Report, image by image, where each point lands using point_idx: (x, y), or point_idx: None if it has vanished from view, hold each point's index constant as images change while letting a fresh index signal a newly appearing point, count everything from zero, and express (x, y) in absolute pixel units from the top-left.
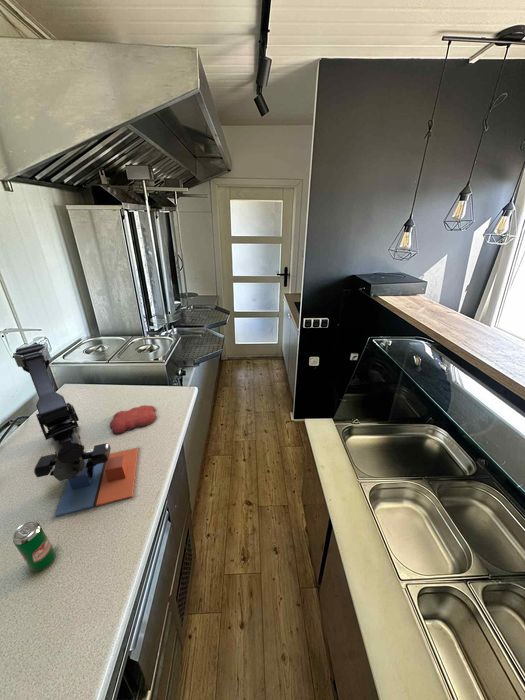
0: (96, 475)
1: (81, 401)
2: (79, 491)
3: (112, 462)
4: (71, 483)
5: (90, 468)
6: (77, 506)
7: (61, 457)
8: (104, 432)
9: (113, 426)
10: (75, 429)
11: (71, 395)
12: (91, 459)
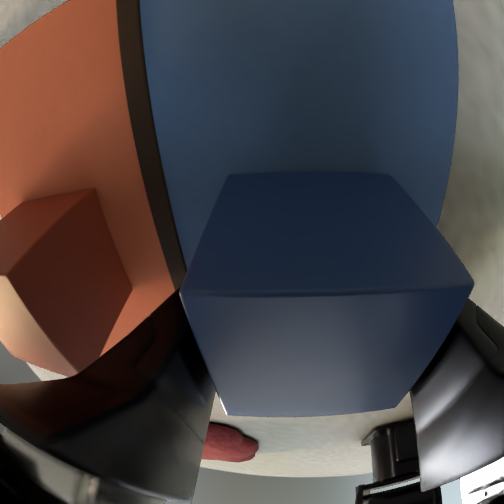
0: None
1: (350, 465)
2: (324, 136)
3: (20, 334)
4: (409, 215)
5: (126, 363)
6: None
7: None
8: (272, 433)
9: (238, 445)
10: (366, 442)
11: (369, 467)
12: (49, 493)
